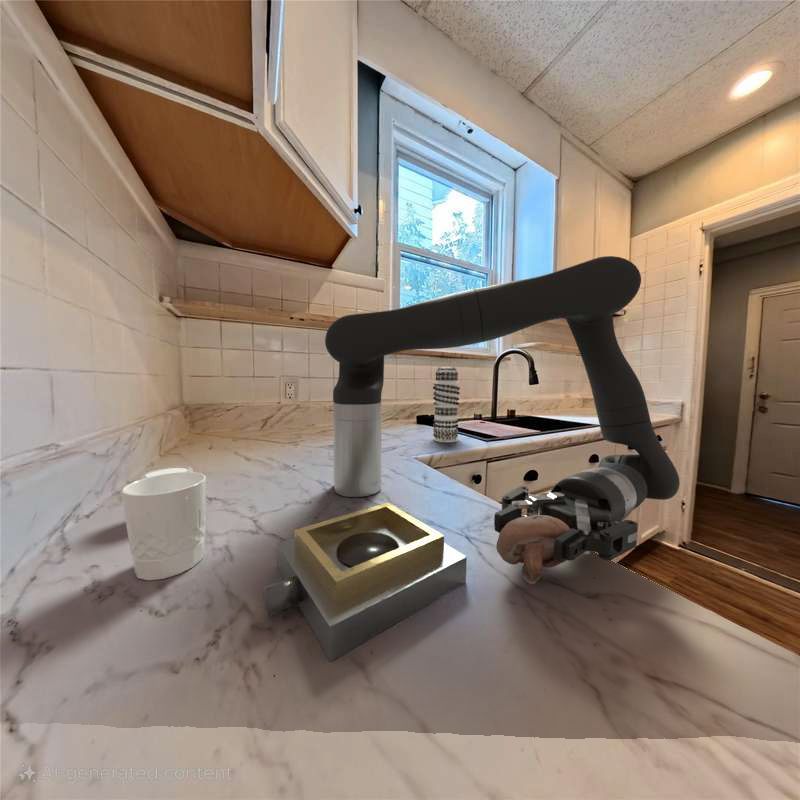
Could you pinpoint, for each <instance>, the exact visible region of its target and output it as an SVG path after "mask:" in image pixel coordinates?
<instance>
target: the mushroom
mask: <svg viewBox="0 0 800 800" xmlns="http://www.w3.org/2000/svg"><path fill="white" fill-rule="evenodd" d="M523 516H524V517H520V518H516V519H514V520H512V521H510V522H508V523H507V524H506V525H505V526H504V528H502V529H501V531H500V533H499V534H498V539H497V541H496V545H495V546H496V551H497V552H498V555H499V556H500V558H501V559H502V560H503V562H505V563H507V564H509V565H515V566H516V565H518V564H523V565H522V567H521V573H522V577H523V579H524V580H525V583H528V584H529V585H530V584H531V585H534V584H536V582H537V580H540V578H541V576H542V575H543V574H544V573H543V568H553V567H556V566H559V565H561V563H560V562H558V561H556V560H554V542H555V540H556V538H557V537H559V536H561V535H562V534H564V533H565V532H567V531H569V530H570V528H569V527H568V525H566V524H565V523H564V522H563V521H561V520H560V519H558V518H554V517H552V516H547V515H540V514H538V515H532V516H525V515H523Z"/></svg>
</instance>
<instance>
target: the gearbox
mask: <svg viewBox="0 0 800 800" xmlns="http://www.w3.org/2000/svg"><path fill="white" fill-rule="evenodd" d="M275 544H276V545H275V546H276V569H277V570H278V572H279V574H280V575H281V577H282V580H280V581H277V582H274V583H272V584H269V585H267V586H264V587H263V588H262V601H263V602H262V603H263V607H264V610H265V614H266V616H267V617H269V616H272V615H275V614H276V613H280V612H281V611H283V610H287V609H288V608H290V607H292V606H295V605H298V607H299V609H300V611H301V612H302V614H303V616H304V618H305V619H306V621H307V624H308V625H309V626H310V628H311V631H312V632H313V634H314V636H315V638H316V639H317V641H318V643H319V644H320V646H321V648H322V649H323V652H324V653H325V655H326V657H327V659H328V661H329V662H330V663H331V662H333V661H335V660H336V659H338V658H340V657H341V656H343V655H345V654H347V653H349V652H350V651H352V650H353V649H355V648H357V647H358V646H360V645H362V644H364V643H365V642H368V641H369V640H371V639H372V638H375V637H376V636H377V635H379V634H381V633H382V632H383V631H386V630H388V629H390V628H391V627H392V626H394V625H396V624H397V623H400V622H401V621H403V620H405V619H406V618H408V617H410V616H411V615H413V614H415V613H417V612H418V611H420V610H421V609H423V608H425V607H428V606H429V605H431V603H434V602H436V601H438V600H439V599H440V598H442V597H444V596H446V595H447V594H449V593H451V592H453V591H454V590H456V589H457V588H459V587H461V586H462V585H465V584H466V583H467V561H468V560H467V558H468V557H467V556H466V555H465V554H463V553H461V552H460V551H458V550H456V549H455V548H453V547H452V546H450V545H449V544H447V543H446V542H445V535H443V534H442V533H440V532H439V531H438V530H435V529H433V528H432V527H430V526H428V525H427V524H425V523H424V522H423V521H420V520H419V519H416V518H415V517H413V516H411V515H410V514H408V513H406V512H405V511H403V510H402V509H400V508H398V507H396V506H395V505H393V504H392V503H390V502H384V503H382V504H378V505H375V506H372V507H368V508H365V509H361V510H358V511H354V512H351V513H346V514H345V515H341V516H338V515H330V517H328V518H327V519H326V520H325V521H324V520H323V521H321V522H318V523H314V524H310V525H307V526H303V527H300V528H297V529H294V536H293V537H292V538H289V539H286V540H282V541H280V542H276V543H275Z"/></svg>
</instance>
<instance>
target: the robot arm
mask: <svg viewBox="0 0 800 800" xmlns="http://www.w3.org/2000/svg"><path fill="white" fill-rule="evenodd" d="M641 284H642V275H641V272H640V270H639V268H638V267H637V265H635V264H634V263H633V262H632V261H630V260H628V259H626V258H624V257H623V258H622V257H620V256H612V255H609V256H608V255H607V256H605V255H604V256H600V257H596V258H592V259H589V260H586V261H583V262H580V263H577V264H574V265H571V266H568V267H565V268H562V269H560V270H556V271H553V272H549V273H546V274H543V275H539V276H535V277H529V278H524V279H517V280H512V281H507V282H502V283H497V284H492V285H488V286H481V287H477V288H476V287H475V288H471V289H467V290H463V291H458V292H455V293H450V294H446V295H443V296H440V297H435V298H432V299H428V300H424V301H423V300H422V301H421V302H417V303H413V304H410V305H407V306H403V307H399V308H394V309H390V310H381V311H380V310H379V311H372V312H363V313H362V312H361V313H352V314H347V315H343V316H341V317H339V318H337V319H336V320H334V321H333V323H331V324H330V326H329V328H328V329H327V331H326V334H325V337H324V345H325V349H326V350H327V352H328V354H329V355H330V357H332V358H333V359H334V360H335V361H337V362H338V364H339V365H338V366H339V368H338V370H339V371H338V379H337V381H336V382H337V383H336V384H335V385H334V388H333V390H332V401H333V402H332V410H333V411H332V414H333V415H332V416H333V420H332V421H333V423H332V424H333V442H332V443H333V487H334V492H335V493H336V494H338V495H340V496H343V497H347V498H348V497H350V498H351V497H352V498H361V497H367V496H372V495H375V494H376V493H378V492H380V491H381V489H382V393H383V386H384V379H385V376H384V373H385V356H387V355H391V354H392V355H393V354H396V353H400V352H405V351H413V350H414V351H415V350H437V349H439V350H441V349H453V348H461V347H464V346H471V345H475V344H480V343H484V342H488V341H489V342H490V341H493V340H495V339H500V338H502V337H505V336H508V335H511V334H513V333H514V334H515V333H516V332H520V331H522V330H524V329H527V328H530V327H532V326H535V325H538V324H540V323H544V322H548V321H553V320H559V319H565V320H566V323H567V325H568V327H569V329H570V332H571V334H572V336H573V338H574V341H575V343H576V346H577V349H578V352H579V354H580V357H581V360H582V362H583V365H584V368H585V371H586V375H587V378H588V381H589V385H590V389H591V393H592V394H591V395H592V398H593V403H594V405H595V406H594V407H595V410H596V415H597V419H598V423H599V428H600V433H601V435H602V437H603V439H604V440H605V441H606V442H608V443H609V442H610V443H613V444H619V445H623V446H627V447H630V448H632V449H633V450H634V451H636V453H637V454H611V455H607V456H604V457H603V458H601V459H600V462H599V464H598V466H596V467H594V468H593V467H592V468H588V469H585V470H582V471H581V472H577V473H575V474H572V475H570V476H568V477H565V478H563V479H561V480H559V481H558V482H557V483H556V484H555V485H554V487H553V488H552V489H551V491H549V492H542V493H539V494H538V495H536V494H532V493H529V487H527V486H522V485H521V486H518V487H517V488H515V489H512V490H511V491H509V492H506V493H505V494H503V495H502V497H501V510H498V511H496V512H495V513H494V516H493V519H494V521H493V522H494V523H493V525H494V531H495V532H497V533H500V531H501V529H502V528H504V526H505V525H506V524H507V523H508V522H510V521H512V520H514V519H516V518H520V517H524V516H532V515H547V516H552V517H554V518H558V519H560V520H561V521H563V522H564V523H565V524H566V525H568V527H569V528H570V530H569V531H567V532H565V533H564V534H562V535H561V536H559V537H557V538H556V540H555V542H554V560H556V561H558V562H560V564H563V563H565V562H567V561H569V562H571V561H575V560H576V559H577V558H579V557H580V556H582V555H589V554H590V553H591V552H593V553H597V557H598V558H600V559H601V560H604V561H608V562H609V561H613V560H614V559H617V558H619V557H620V556H622V555H623V554H625V553H627V552H629V551H631V550H632V549H635V548H636V547H637V542H638V528H639V523H637V522H636V521H633V520H632V519H627V518H628V517H629V516H630V514H631V513H632V512H633V511H634V510H636V509H637V508H638V507H639V506H641V505H642V503H643V502H644V501H645V500H646V499H648V500H659V501H660V500H661V501H662V500H664V501H665V500H669V499H672V498H673V497H674V496H675V495H676V494H677V493H678V491H679V488H680V476H679V474H678V470H677V469H676V468H677V467H675V465H674V463H673V461H672V460H671V459H670V457H669V455H668V454H667V452H666V450H665V449H664V447H663V446H662V444H661V441H660V440H659V438H658V436H657V434H656V431H655V430H654V427H653V424H652V421H651V416H650V412H649V408H648V404H647V403H648V402H647V400H646V396H645V393H644V389H643V386H642V385H641V382H640V380H639V379H638V376H637V375H636V373H635V371H634V369H633V368H632V367H631V365H630V363H629V362H628V360H627V359H626V357H625V355H624V353H623V352H622V350H621V347H620V344H619V343H618V339H617V337H616V333H615V325H614V315H615V314H617V313H619V312H620V311H622V310H623V309H624V308H625V307H627V306H628V305H629V304H630V303H631V302H632V301H633V300H634V298H635V297H636V295H637V294H638V292H639V290H640V288H641ZM523 510H526V514H525V515H523V514H522V513H523Z"/></svg>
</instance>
